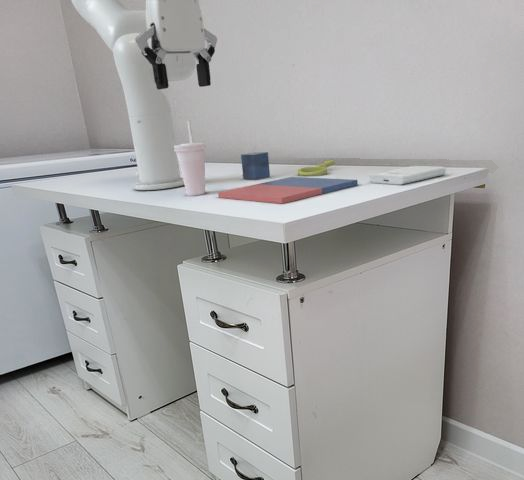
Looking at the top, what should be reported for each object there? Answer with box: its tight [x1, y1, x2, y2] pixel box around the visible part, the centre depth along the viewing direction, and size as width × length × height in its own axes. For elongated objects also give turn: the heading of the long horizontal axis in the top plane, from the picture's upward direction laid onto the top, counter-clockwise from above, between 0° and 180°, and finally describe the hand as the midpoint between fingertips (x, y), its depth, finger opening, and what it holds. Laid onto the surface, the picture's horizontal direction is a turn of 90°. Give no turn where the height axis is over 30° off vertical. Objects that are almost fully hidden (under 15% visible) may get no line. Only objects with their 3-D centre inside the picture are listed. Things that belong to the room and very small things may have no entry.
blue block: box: [240, 151, 271, 181], centre depth 126 cm, size 4×4×6 cm
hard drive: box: [369, 165, 447, 186], centre depth 104 cm, size 2×8×12 cm
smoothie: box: [174, 120, 207, 197], centre depth 108 cm, size 6×6×14 cm
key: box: [296, 159, 336, 177], centre depth 127 cm, size 7×12×2 cm, turn 162°
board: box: [217, 176, 359, 204], centre depth 104 cm, size 18×20×1 cm
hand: (184, 87), depth 103 cm, fingers open, 9 cm apart
